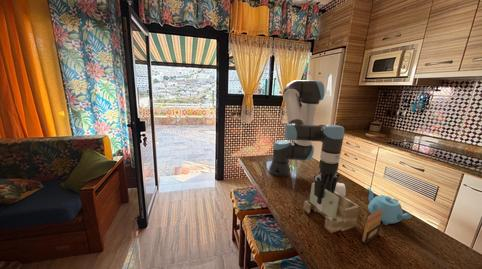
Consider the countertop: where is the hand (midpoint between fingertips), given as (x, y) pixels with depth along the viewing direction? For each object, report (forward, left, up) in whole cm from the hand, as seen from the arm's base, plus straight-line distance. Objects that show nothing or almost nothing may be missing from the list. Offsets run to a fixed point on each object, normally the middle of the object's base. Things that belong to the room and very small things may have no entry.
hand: (321, 208), depth 87 cm
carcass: (0, +4, -5) cm, 7 cm away
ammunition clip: (+16, +11, -6) cm, 20 cm away
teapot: (+10, +29, -6) cm, 31 cm away
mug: (-15, +24, -6) cm, 29 cm away
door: (0, 0, 0) cm, 0 cm away
